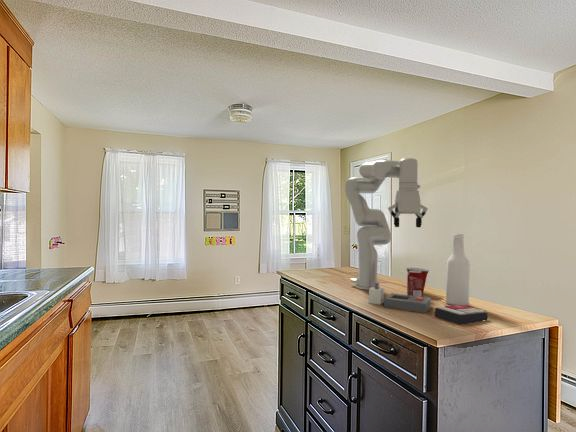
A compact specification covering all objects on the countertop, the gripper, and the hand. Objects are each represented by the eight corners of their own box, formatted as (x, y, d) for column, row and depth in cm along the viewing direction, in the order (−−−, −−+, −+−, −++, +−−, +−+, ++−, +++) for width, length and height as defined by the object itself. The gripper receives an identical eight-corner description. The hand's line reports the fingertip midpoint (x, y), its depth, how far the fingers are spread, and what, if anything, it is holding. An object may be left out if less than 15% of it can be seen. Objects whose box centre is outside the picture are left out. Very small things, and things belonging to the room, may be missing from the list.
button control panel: (488, 310, 130) (460, 313, 123) (487, 322, 130) (459, 325, 123) (461, 303, 140) (434, 305, 133) (461, 314, 140) (433, 317, 133)
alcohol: (442, 301, 158) (444, 233, 158) (463, 302, 157) (464, 233, 157) (450, 306, 149) (452, 234, 149) (472, 307, 148) (473, 234, 148)
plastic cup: (433, 293, 174) (434, 268, 174) (420, 295, 168) (420, 270, 168) (414, 289, 183) (414, 265, 183) (400, 291, 177) (401, 267, 177)
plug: (368, 303, 152) (369, 283, 152) (372, 300, 157) (372, 281, 157) (380, 304, 150) (380, 284, 150) (383, 302, 154) (384, 282, 154)
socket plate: (384, 307, 146) (384, 296, 146) (391, 301, 156) (391, 291, 156) (425, 313, 138) (426, 301, 138) (430, 306, 148) (430, 296, 148)
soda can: (423, 299, 161) (424, 272, 161) (407, 298, 162) (408, 272, 162) (421, 296, 167) (421, 270, 167) (406, 295, 169) (406, 269, 169)
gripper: (422, 188, 159) (422, 227, 159) (385, 187, 157) (385, 226, 157) (431, 187, 152) (431, 227, 152) (392, 186, 150) (391, 227, 150)
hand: (407, 227), depth 154 cm, fingers open, 9 cm apart
